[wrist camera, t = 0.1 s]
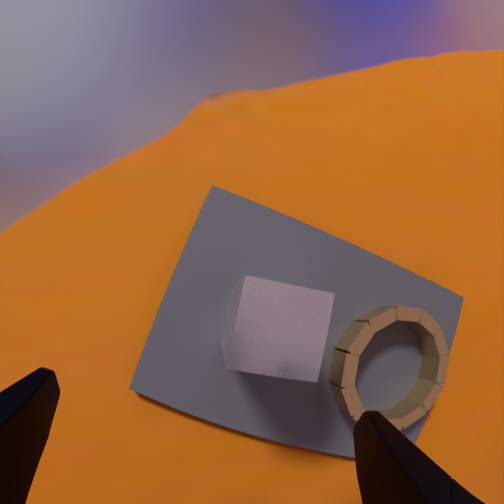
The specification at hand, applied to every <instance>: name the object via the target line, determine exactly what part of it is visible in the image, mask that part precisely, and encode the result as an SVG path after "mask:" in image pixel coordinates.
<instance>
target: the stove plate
mask: <svg viewBox="0 0 504 504" xmlns="http://www.w3.org/2000/svg"><path fill="white" fill-rule="evenodd" d="M245 275H249V276H253V277H258V278H262V279H267V280H272V281H277V282H281V283H286V284H291V285H296V286H300V287H305V288H310V289H315V290H320V291H325V292H330V293H335V295H334V301H333V307H332V312H331V318H330V323H329V328H328V333H327V339H326V344H325V348H324V353H323V358H322V363H321V367H320V372H319V376H318V381H317V382H309V381H301V380H294V379H287V378H280V377H273V376H267V375H261V374H255V373H249V372H243V371H238V370H232V369H227V368H226V365H225V361H224V356H223V351H222V346H221V343H222V338H223V333H224V328H225V323H226V318H227V314H228V309H229V304H230V299H231V294H232V290H233V287H234V286H235V285H236V284H237V283H238V282H239V281H240V280H241V279H242V278H243V277H244V276H245ZM462 302H463V297H462V296H460V295H458V294H456V293H454V292H452V291H450V290H448V289H446V288H444V287H442V286H440V285H438V284H436V283H434V282H432V281H430V280H428V279H426V278H424V277H421V276H419V275H417V274H415V273H413V272H411V271H409V270H407V269H405V268H403V267H401V266H399V265H396V264H394V263H392V262H390V261H388V260H386V259H384V258H381V257H379V256H377V255H375V254H373V253H371V252H368V251H366V250H364V249H362V248H360V247H357V246H355V245H353V244H351V243H349V242H346V241H344V240H342V239H340V238H337V237H335V236H333V235H331V234H328V233H326V232H324V231H322V230H319V229H317V228H315V227H312V226H310V225H308V224H305V223H303V222H301V221H298V220H296V219H294V218H291V217H289V216H287V215H284V214H282V213H279V212H277V211H275V210H272V209H270V208H267V207H265V206H263V205H260V204H258V203H255V202H253V201H250V200H248V199H245V198H243V197H240V196H238V195H235V194H233V193H230V192H228V191H225V190H223V189H220V188H218V187H215V186H213V185H212V187H211V189H210V192H209V194H208V196H207V198H206V200H205V202H204V205H203V207H202V209H201V211H200V213H199V216H198V218H197V220H196V222H195V224H194V227H193V229H192V231H191V233H190V236H189V238H188V240H187V243H186V245H185V247H184V250H183V252H182V254H181V257H180V259H179V261H178V264H177V266H176V268H175V271H174V273H173V276H172V278H171V280H170V283H169V285H168V288H167V290H166V293H165V295H164V297H163V300H162V302H161V305H160V307H159V310H158V313H157V315H156V318H155V320H154V323H153V325H152V328H151V331H150V333H149V336H148V338H147V341H146V344H145V346H144V349H143V352H142V354H141V357H140V360H139V363H138V365H137V368H136V371H135V374H134V377H133V379H132V382H131V385H130V388H129V389H131V390H133V391H136V392H138V393H140V394H142V395H144V396H147V397H149V398H151V399H154V400H156V401H158V402H161V403H163V404H165V405H168V406H170V407H173V408H175V409H178V410H180V411H183V412H186V413H188V414H191V415H193V416H196V417H199V418H202V419H204V420H207V421H210V422H213V423H216V424H219V425H222V426H225V427H228V428H231V429H234V430H237V431H241V432H244V433H247V434H251V435H254V436H258V437H261V438H265V439H268V440H272V441H276V442H280V443H284V444H288V445H292V446H296V447H301V448H305V449H310V450H315V451H319V452H325V453H330V454H335V455H341V456H347V457H353V458H355V450H354V440H353V429H354V426H355V425H356V423H357V421H356V420H354V419H353V418H351V417H350V416H348V415H347V414H346V413H344V412H343V411H342V410H340V408H339V407H338V406H337V403H336V400H335V398H334V395H333V392H332V390H331V387H330V384H329V382H330V380H329V379H328V378H329V372H330V366H331V360H332V353H333V349H336V350H338V349H337V348H335V347H334V346H335V345H336V343H337V342H338V341H339V339H340V338H341V336H342V335H343V333H344V332H345V330H346V329H347V328H348V326H349V325H350V323H351V322H352V321H353V322H354V319H356V318H358V317H360V316H362V315H364V314H366V313H368V312H369V311H371V310H373V309H375V308H377V307H381V306H403V307H412V308H421V309H424V310H425V311H426V312H427V313H428V314H429V315H430V316H431V317H432V318H433V319H434V320H435V321H436V322H437V323H438V324H439V325H440V326H441V327H440V328H442V330H443V333H444V337H445V341H446V344H447V348H448V352H450V349H451V345H452V342H453V338H454V335H455V331H456V327H457V323H458V319H459V315H460V311H461V307H462ZM448 355H449V354H448ZM448 355H446V356H448ZM421 359H422V353H421V350H420V346H419V343H418V340H417V336H416V334H415V333H414V332H412V331H411V330H410V329H409V328H408V327H407V326H406V325H405V324H403V323H402V322H401V321H395V322H393V323H391V324H389V325H388V326H386V327H384V328H382V329H381V330H379V331H377V332H375V334H374V335H373V337H372V338H371V340H370V341H369V343H368V344H367V346H366V347H365V349H364V350H363V352H362V353H361V355H360V356H359V361H358V368H357V374H356V379H355V387H356V390H357V393H358V396H359V399H360V402H361V404H362V407H363V408H364V409H365V410H366V411H369V410H377V411H379V410H388V409H389V408H391V407H392V406H394V405H396V404H397V403H399V402H400V401H402V400H403V399H405V398H406V397H407V395H408V394H409V392H410V391H411V389H412V388H413V386H414V384H415V383H416V381H417V380H418V378H419V372H420V366H421ZM428 412H429V411H426V414H425V415H423V416H422V417H421V418H419V419H418V420H416V421H415V422H413V423H412V424H411V425H409V426H408V427H406V428H405V429H401V430H399V431H400V432H402V433H403V434H404V435H405V436H406V437H407V438H408V439H409V440H410V441H411V442H412V443H414V444H415V442H416V440H417V438H418V435H419V433H420V431H421V429H422V426H423V424H424V422H425V419H426V417H427V414H428Z"/></svg>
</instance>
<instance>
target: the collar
mask: <svg viewBox="0 0 504 504" xmlns="http://www.w3.org/2000/svg"><path fill="white" fill-rule="evenodd" d="M395 321H401V322H402V323H403V324H405V325H406V326H407V327H408V328H409V329H410V330H411V331H412V332H414V333H415V334H416V336H417V340H418V343H419V346H420V350H421V353H422V359H421V366H420V372H419V378H418V380H417V381H416V383H415V384H414V386H413V388H412V389H411V391H410V392H409V394H408V395H407V397H406V398H405V399H403V400H402V401H400V402H399V403H397V404H396V405H394V406H392V407H391V408H389V409H388V410H379V412H380V413H381V414H382V415H383V416H384V417H385V418H386V419H387V420H389V421H390V422H391V423H392V424H393V425H394V426H395V427H396V428H397V429H398V430H401V429H405V428H406V427H408V426H409V425H411V424H412V423H413V422H415V421H416V420H418V419H419V418H421V417H422V416H423V415H425V414H426V411H429V409H430V408H431V406H432V405H433V403H434V402H435V400H436V398H437V397H438V395H439V393H440V392H441V390H442V388H443V386H442V385H441V384H445V378H446V372H447V366H448V360H449V356H446V355H448V354H449V352H448V348H447V344H446V341H445V337H444V333H443V330H442V328H440V327H441V326H440V325H439V324H438V323H437V322H436V321H435V320H434V319H433V318H432V317H431V316H430V315H429V314H428V313H427V312H426V311H425V310H424V309H421V308H412V307H403V306H381V307H377V308H375V309H373V310H371V311H369V312H368V313H366V314H364V315H362V316H360V317H358V318H356V319H354V322H353V321H352V322H351V323H350V325H349V326H348V328H347V329H346V330H345V332H344V333H343V335H342V336H341V338H340V339H339V341H338V342H337V343H336V345H335V346H334V347H335V348H337V349H338V350H336V349H333V353H332V360H331V366H330V372H329V378H328V379H329V380H330V382H329V384H330V387H331V390H332V392H333V395H334V398H335V400H336V403H337V406H338V407H339V408H340V410H342V411H343V412H344V413H346V414H347V415H348V416H350V417H351V418H353V419H354V420H356V421H358V420H359V418H360V417H361V415H362V413H363V412H364V411H366V410H365V409H364V408H363V407H362V404H361V402H360V399H359V396H358V393H357V390H356V387H355V379H356V374H357V368H358V361H359V356H360V355H361V353H362V352H363V350H364V349H365V347H366V346H367V344H368V343H369V341H370V340H371V338H372V337H373V335H374V334H375V332H377V331H379V330H381V329H382V328H384V327H386V326H388V325H389V324H391V323H393V322H395Z"/></svg>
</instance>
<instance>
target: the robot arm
mask: <svg viewBox="0 0 504 504" xmlns="http://www.w3.org/2000/svg"><path fill="white" fill-rule="evenodd" d="M59 397H60V388H59V385H58V382H57V378H56V375H55V372H54V371H53V370H50V369H47V368H44V367H41V368H39V369H37V370H35V371H34V372H32V373H30V374H29V375H27V376H26V377H24V378H22V379H21V380H19V381H17V382H16V383H14V384H13V385H11V386H9V387H8V388H6V389H4V390H3V391H1V392H0V504H25V503H26V500H27V497H28V493H29V490H30V487H31V484H32V481H33V478H34V475H35V472H36V469H37V467H38V464H39V461H40V458H41V456H42V453H43V450H44V447H45V445H46V442H47V439H48V436H49V433H50V429H51V425H52V421H53V418H54V414H55V411H56V407H57V404H58V400H59ZM353 440H354V450H355V461H356V471H357V478H358V483H359V488H360V493H361V498H362V503H363V504H485V503H483V502H482V501H480V500H479V499H478V498H476V497H475V496H473V495H472V494H471V493H469V492H468V491H467V490H466V489H465V488H463V487H462V486H461V485H460V484H459V483H457V482H456V481H455V480H454V479H452V478H451V477H450V476H449V475H448V474H447V473H446V472H445V471H444V470H443V469H441V468H440V467H439V466H438V465H437V464H436V463H435V462H434V461H432V460H431V459H430V458H429V457H428V456H427V455H426V454H425V453H424V452H422V451H421V450H420V449H419V448H418V447H417V446H416V445H415V444H414V443H412V442H411V441H410V440H409V439H408V438H407V437H406V436H405V435H404V434H403V433H402V432H400V431H399V430H398V429H397V428H396V427H395V426H394V425H393V424H392V423H391V422H390V421H389V420H387V419H386V418H385V417H384V416H383V415H382V414H381V413H380V412H379V411H377V410H369V411H364V412H363V413H362V415H361V417H360V418H359V420H358V421H357V423H356V425H355V426H354V429H353Z"/></svg>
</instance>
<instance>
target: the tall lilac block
mask: <svg viewBox="0 0 504 504" xmlns="http://www.w3.org/2000/svg"><path fill="white" fill-rule="evenodd" d="M334 295H335V293H330V292H325V291H320V290H315V289H310V288H305V287H300V286H296V285H291V284H286V283H281V282H277V281H272V280H267V279H262V278H258V277H253V276H249V275H245V276H244V277H243V278H242V279H241V280H240V281H239V282H238V283H237V284H236V285H235V286H234V287H233V290H232V294H231V299H230V304H229V309H228V314H227V318H226V323H225V328H224V333H223V338H222V343H221V346H222V351H223V356H224V361H225V365H226V368H227V369H232V370H238V371H243V372H249V373H255V374H261V375H267V376H273V377H280V378H287V379H294V380H301V381H309V382H317V381H318V376H319V372H320V367H321V363H322V358H323V353H324V348H325V344H326V339H327V333H328V328H329V323H330V318H331V312H332V307H333V301H334Z"/></svg>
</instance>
